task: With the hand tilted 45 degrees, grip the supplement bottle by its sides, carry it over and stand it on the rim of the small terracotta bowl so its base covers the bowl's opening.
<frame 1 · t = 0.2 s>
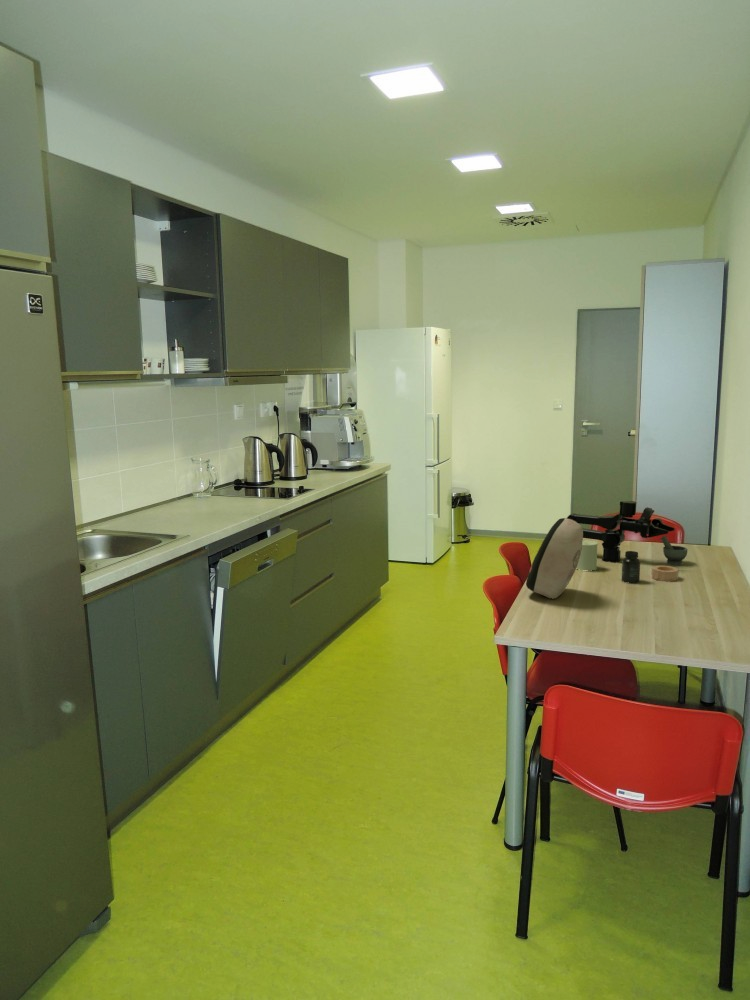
hand: (671, 530, 306), 17 cm above the table, tool horizontal, fingers open, 9 cm apart
grey rounded piece: (554, 595, 274), on the table
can: (585, 569, 311), on the table
supplement bottle: (630, 581, 291), on the table
mortar and pestle: (672, 563, 318), on the table
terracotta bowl: (664, 578, 294), on the table
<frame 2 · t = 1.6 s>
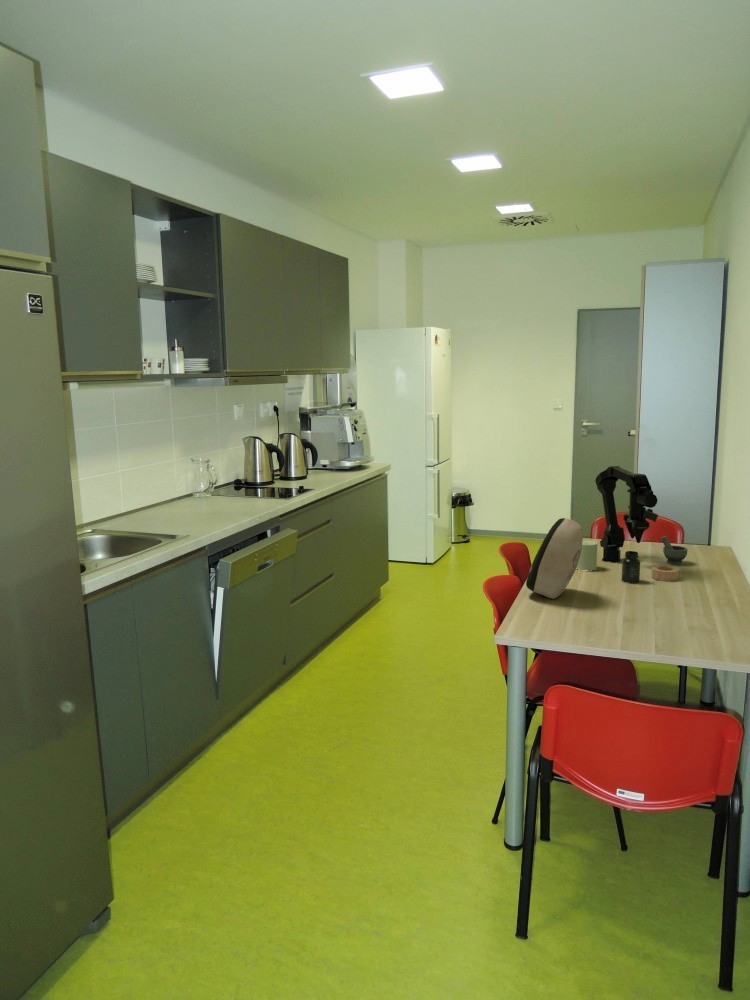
hand: (635, 540, 304), 13 cm above the table, tool pointing down, fingers open, 9 cm apart
nothing on the table moved.
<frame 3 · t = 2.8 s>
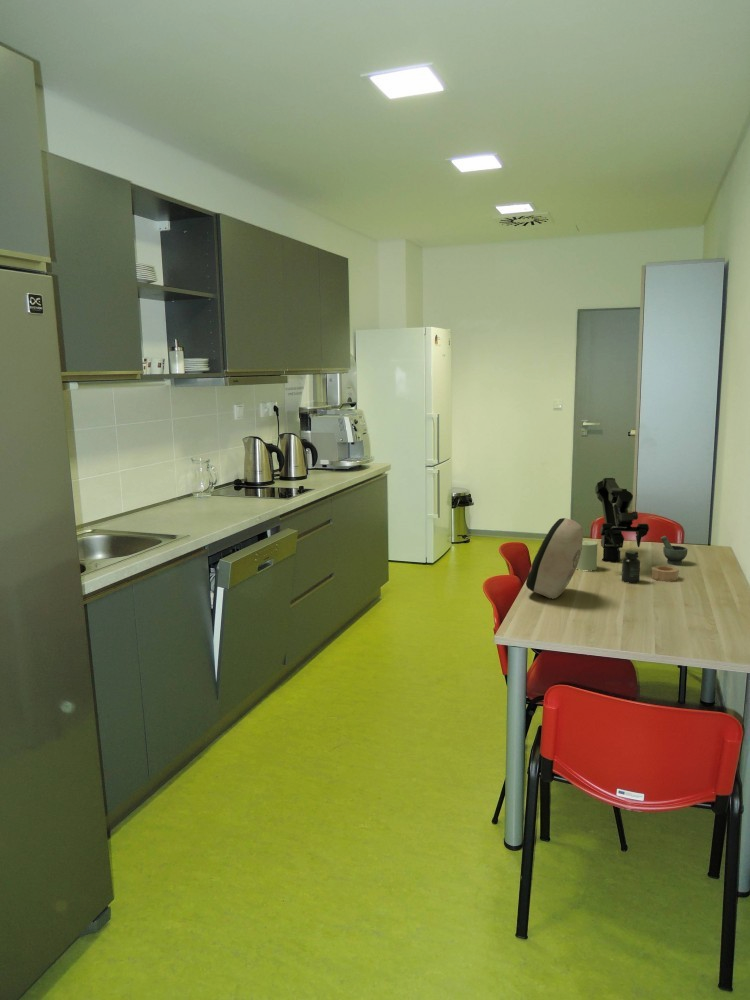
hand: (627, 546, 296), 12 cm above the table, tool tilted 45°, fingers open, 9 cm apart
nothing on the table moved.
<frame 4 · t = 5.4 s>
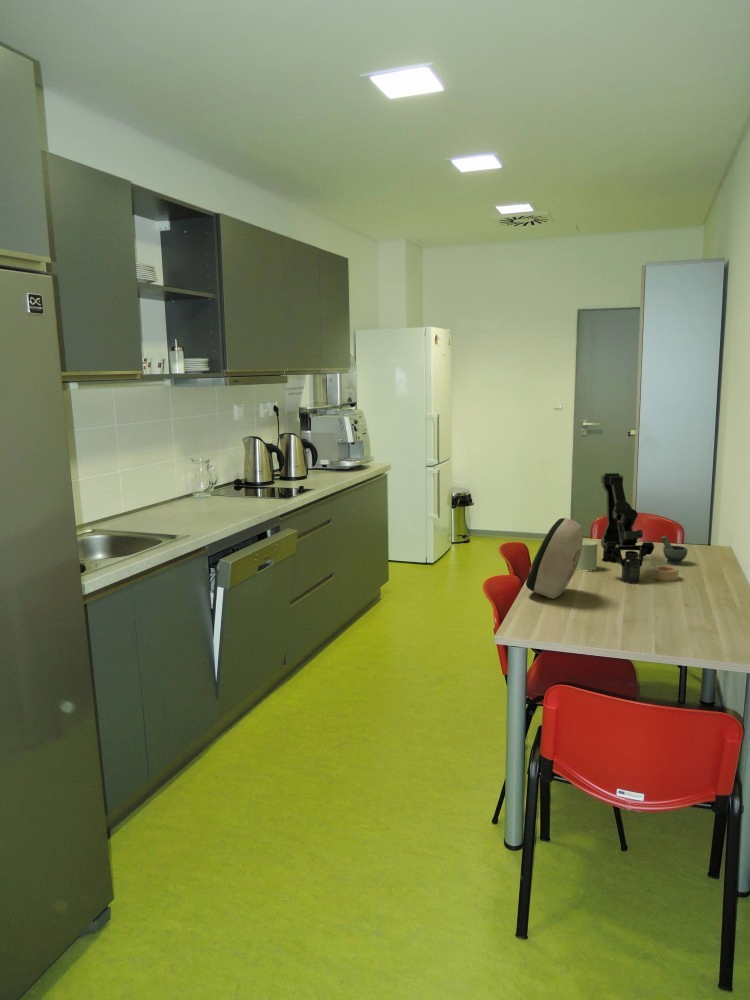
hand: (631, 566, 288), 7 cm above the table, tool tilted 45°, fingers closed on supplement bottle, 7 cm apart
supplement bottle: (630, 581, 291), on the table, touching gripper
everything else where it was.
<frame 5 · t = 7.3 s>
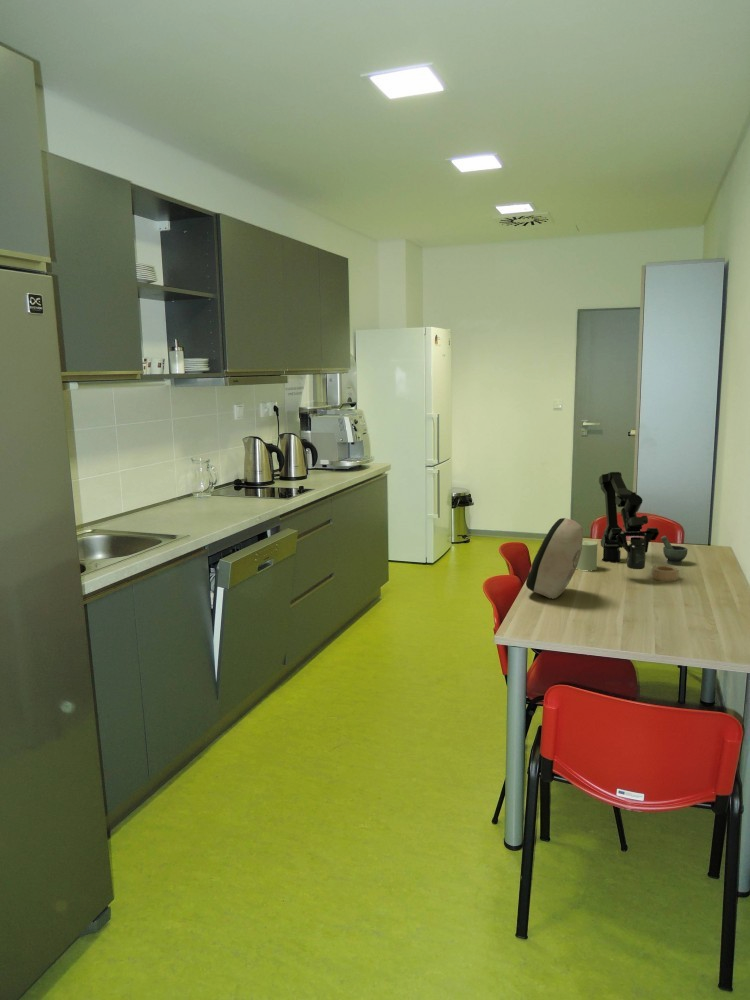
hand: (637, 552, 287), 12 cm above the table, tool tilted 45°, fingers closed on supplement bottle, 7 cm apart
supplement bottle: (635, 567, 290), point 5 cm above the table, touching gripper
everything else where it was.
when the fingers open (12 cm above the table, at t = 9.3 s): supplement bottle drops 1 cm, resting on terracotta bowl.
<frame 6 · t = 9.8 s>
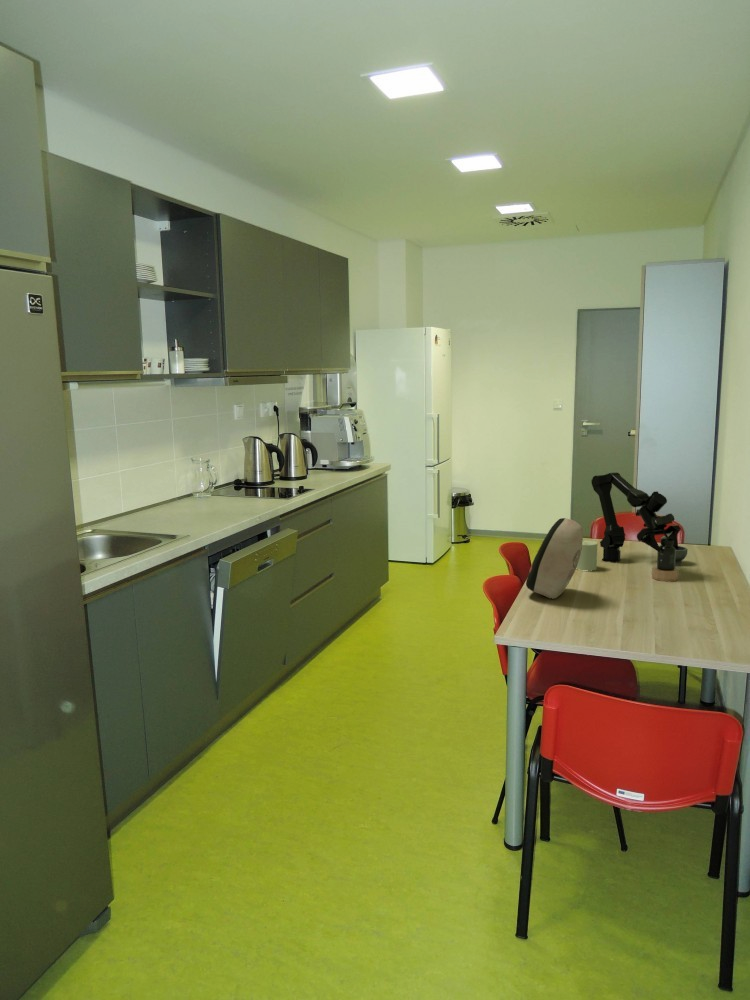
hand: (668, 550, 291), 12 cm above the table, tool tilted 45°, fingers open, 9 cm apart
supplement bottle: (665, 569, 294), point 4 cm above the table, touching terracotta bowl
everything else where it was.
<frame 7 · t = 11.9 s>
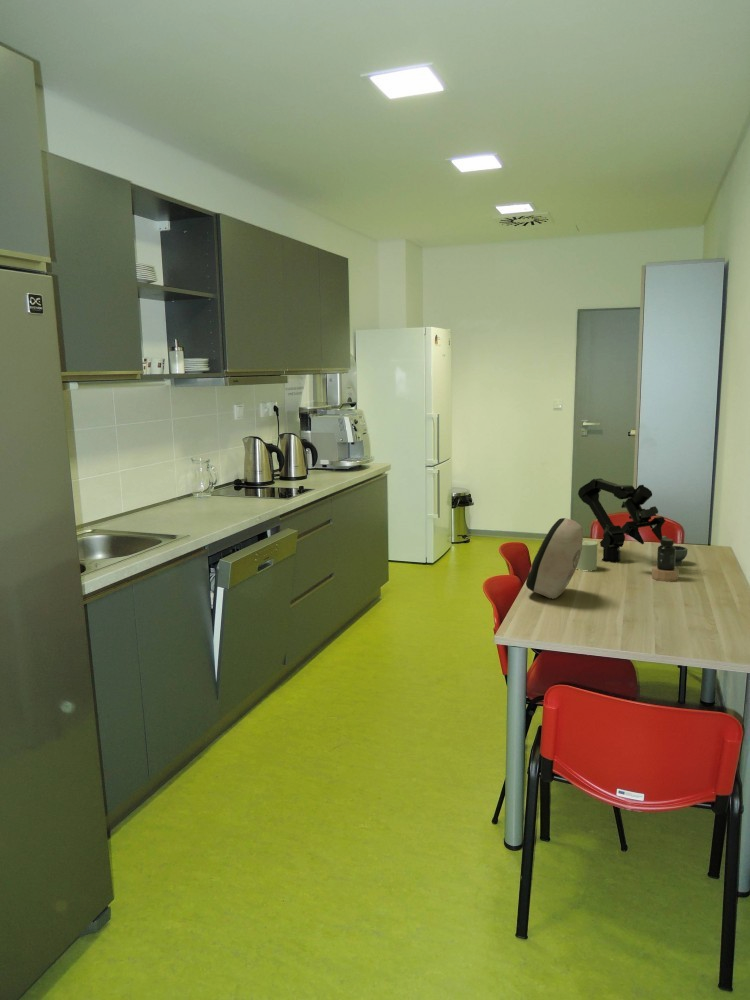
hand: (652, 542, 300), 13 cm above the table, tool tilted 40°, fingers open, 9 cm apart
nothing on the table moved.
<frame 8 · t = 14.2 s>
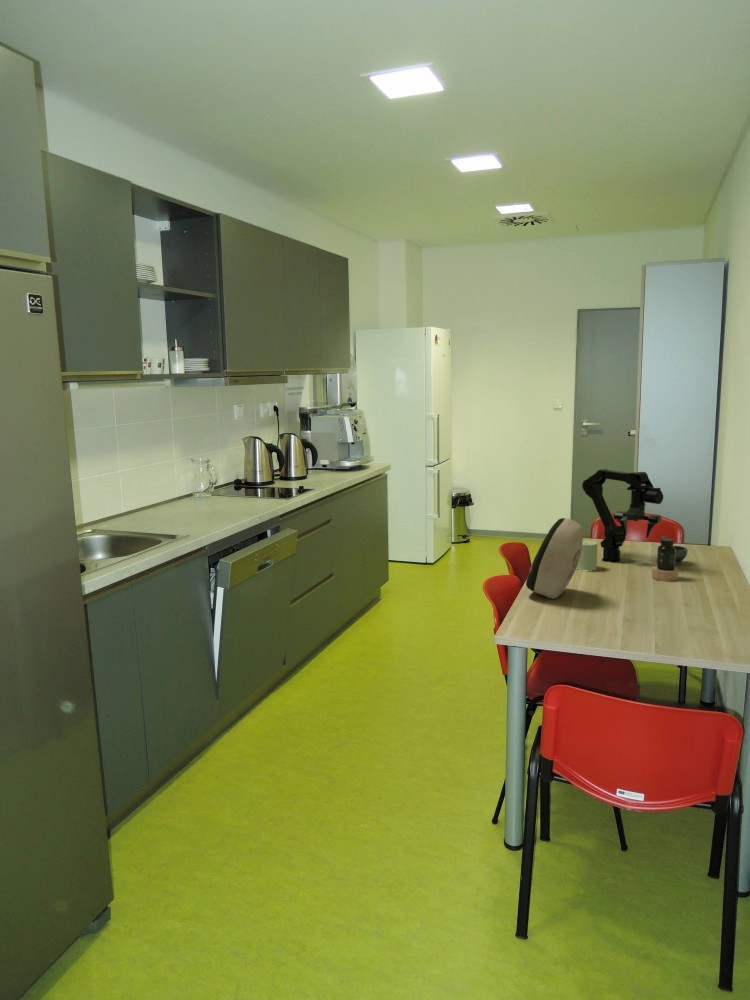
hand: (636, 536, 312), 13 cm above the table, tool pointing down, fingers open, 9 cm apart
nothing on the table moved.
at the end: supplement bottle 0.4 cm off-centre on the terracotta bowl, point 3.8 cm above the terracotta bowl's base; supplement bottle tilted 0°; the gripper is holding nothing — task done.
